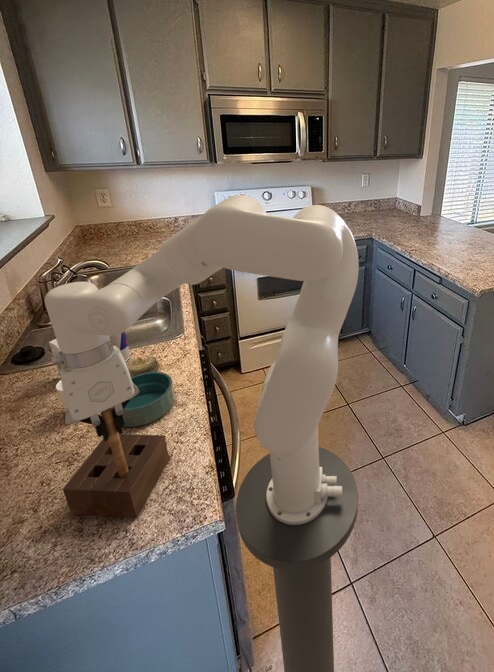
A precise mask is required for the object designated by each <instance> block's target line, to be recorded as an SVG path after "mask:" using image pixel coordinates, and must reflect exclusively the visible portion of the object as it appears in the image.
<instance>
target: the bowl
mask: <svg viewBox="0 0 494 672" xmlns="http://www.w3.org/2000/svg"><path fill="white" fill-rule="evenodd" d="M131 380H132V382H133V383H134V384H135V385H136V386H137V388H138V389H139V393H138V394H137V395H136V396H134V397H133V398H132V399H130V400H129V402H128V404H127V405H126V407H125V408H124V410H123V414H122V416H123V420H124V423H125V425H123V426H122V427H127V428H136V427H140V426H145V425H147V424H150V423H152V422H155V421H157V420H159V419H160V418H161V417H163V416H165V415H166V414H167V413H168V412H169V411H170V410H171V409H172V407H173V406H174V404H175V401H176V393H175V387H174V383H173V380H172V377H171V375H169V374H168V373H165V372H162V371H156V372H148V373H142V374H139V375H136V376H134V377H131ZM112 408H113V407H111V409H112Z"/></svg>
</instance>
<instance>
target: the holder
mask: <svg viewBox="0 0 494 672" xmlns="http://www.w3.org/2000/svg"><path fill="white" fill-rule="evenodd" d="M165 436H166V435H164V434H163V435H162V434H159V435H157V434H129V433H128V434H126V433H125V434H124V433H121V434H120V433H119V437H120V441H121V445H122V448H123V452H124V455H125V459H126V462H127V466H128V469H129V472H128V474H127V475H126V477H125V478H120V477H119V474H118V471H117V467H116V464H115V461H114V457H113V454H112V450H111V447H110V444H109V440H107V441H104V438H103V437H102V440H101V441H100V442H99V443H98V445H96V447H95V448H94V449H93V451H92V452H91V453H90V455H88V457H87V458H86V460H84V462H83V463H82V465H80V467H79V468H78V469H77V471H75V473H74V474H73V476H72V477H71V478H70V479H69V481H67V483H66V484H65V485H64V486H63V488H62V492H63V494H64V498H65V501H66V504H67V506H68V508H69V512H70V514H71V516H86V517H87V516H88V517H111V518H127V519H128V518H129V519H137V518H138V517H139V515H140V513H141V512H142V510H143V508H144V506H145V504H146V502H147V500H148V499H149V497H150V495H151V493H152V491H153V489H154V487H155V486H156V484H157V482H158V481H159V479H160V477H161V475H162V474H163V472H164V470H165V469H166V467H167V465H168V463H169V461H170V454H169V449H168V446H167V441H166V437H165Z"/></svg>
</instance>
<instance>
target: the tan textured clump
mask: <svg viewBox="0 0 494 672" xmlns="http://www.w3.org/2000/svg"><path fill="white" fill-rule="evenodd" d="M126 365H127V368H128V371H129V374H130V377H134V376H136V375H139V374H142V373H148V372H158V370H159V367H160V363H159V361H157V357H156V356H154V355H152V354H151V355H149V356H148V357H146V359H145V358H142V357H141V356H138V357H137V358H131V359H130V361H128V362H127V363H126Z"/></svg>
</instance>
